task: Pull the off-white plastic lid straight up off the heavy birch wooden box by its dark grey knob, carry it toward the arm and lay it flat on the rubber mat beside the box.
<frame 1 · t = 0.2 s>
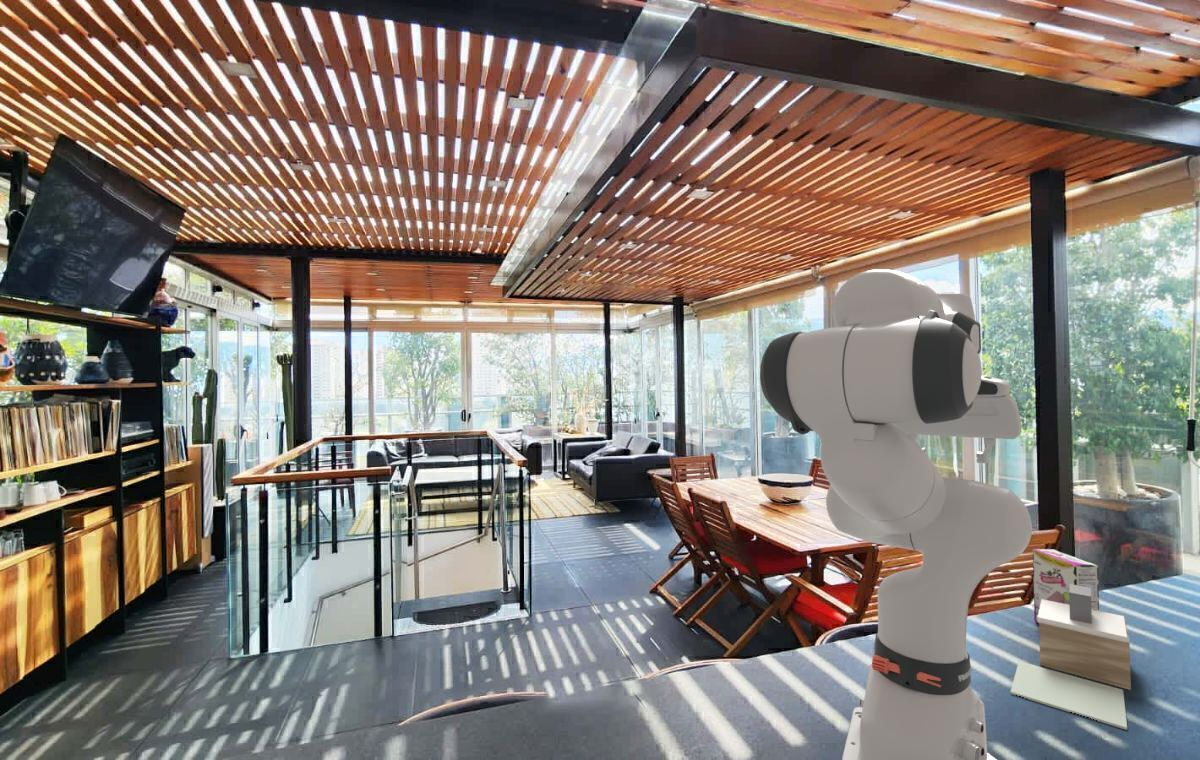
hand: (950, 460, 94), 39 cm above the table, tool pointing down, fingers open, 8 cm apart
candy bar box: (1065, 634, 111), on the table
box: (1083, 665, 98), on the table, touching lid
lid: (1080, 621, 99), point 8 cm above the table, touching box
mat: (1067, 692, 89), on the table
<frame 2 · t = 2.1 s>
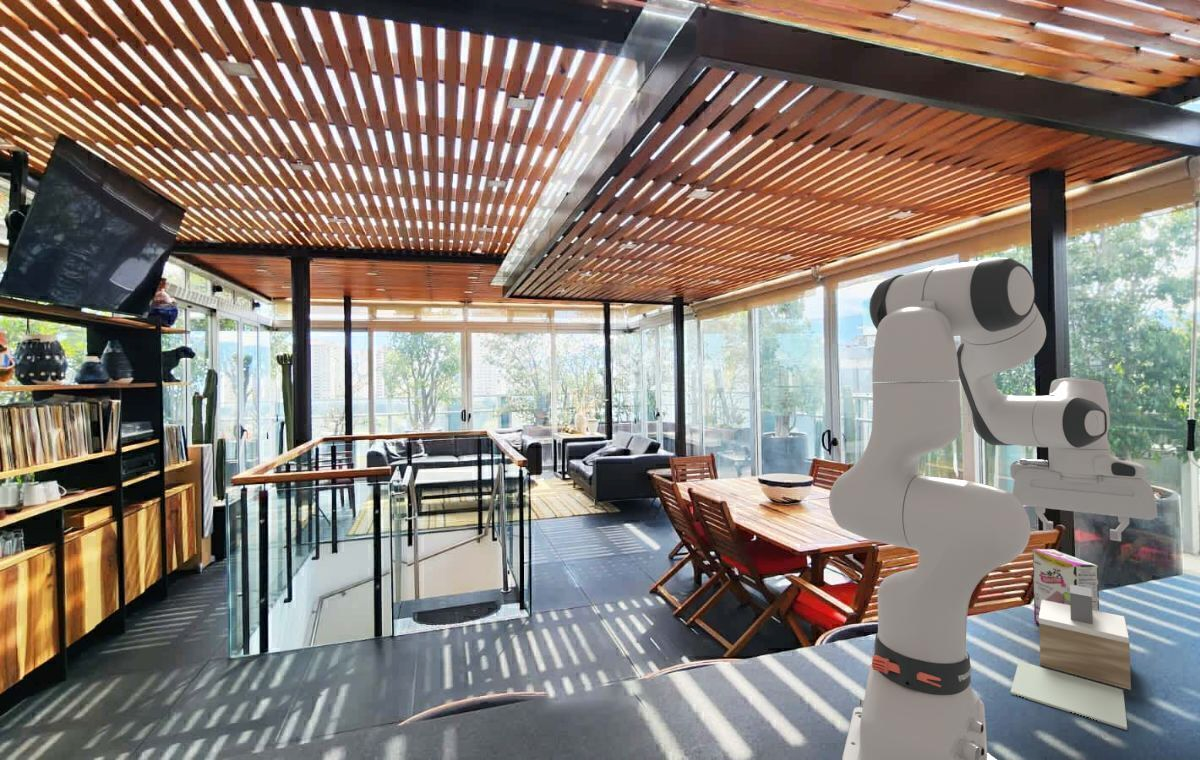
hand: (1080, 535, 99), 24 cm above the table, tool pointing down, fingers open, 8 cm apart
nothing on the table moved.
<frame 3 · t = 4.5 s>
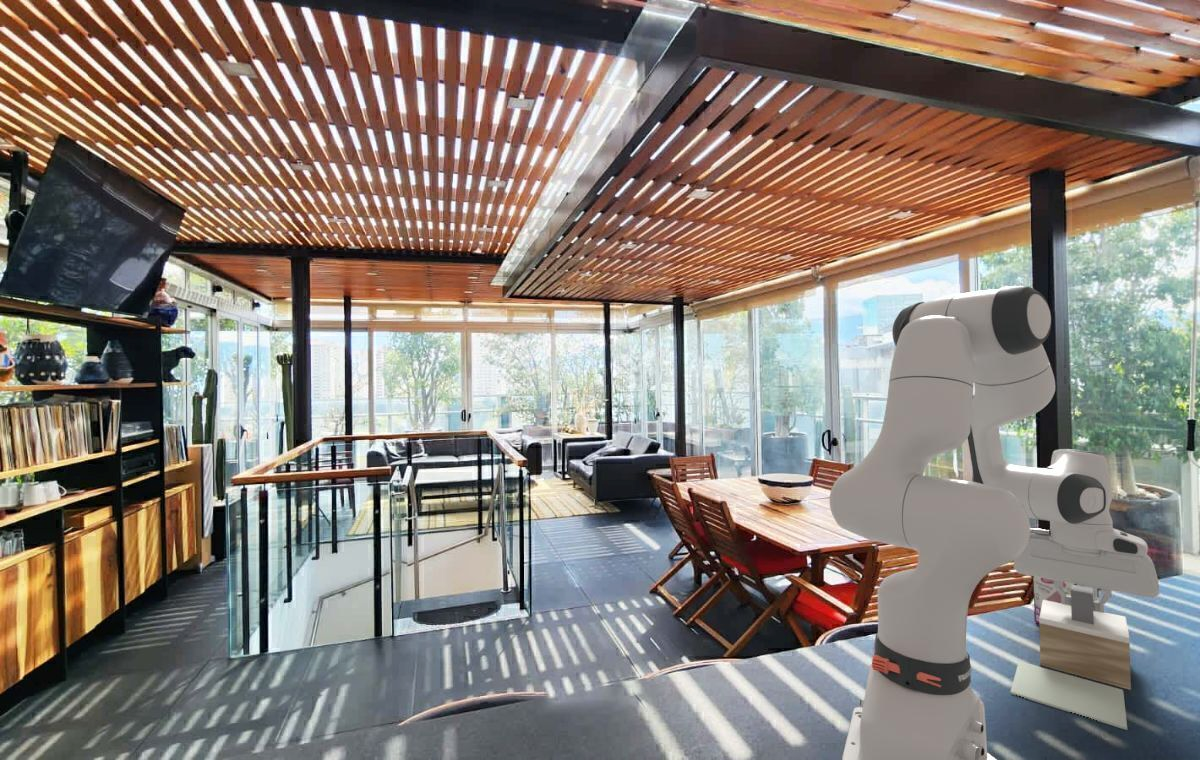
hand: (1082, 607, 99), 11 cm above the table, tool pointing down, fingers closed on lid, 3 cm apart
lid: (1082, 622, 99), point 8 cm above the table, touching box, gripper
everything else where it was.
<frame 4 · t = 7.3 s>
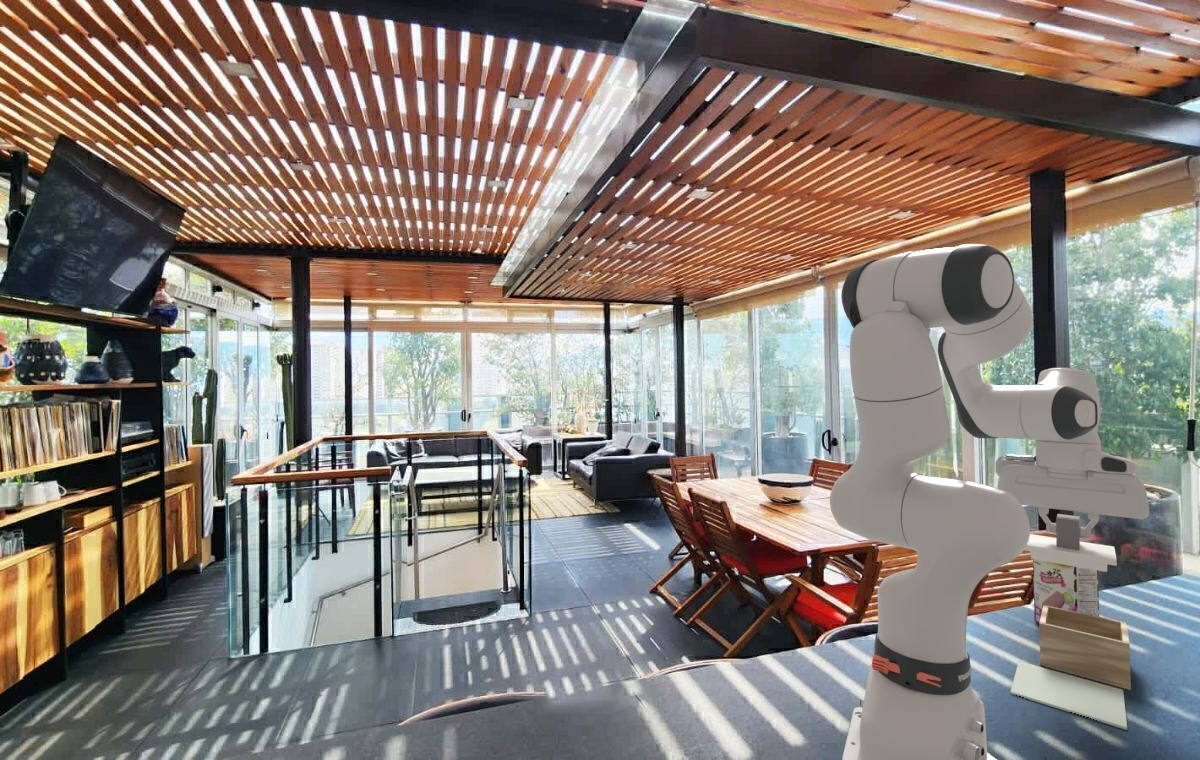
hand: (1068, 535, 93), 26 cm above the table, tool pointing down, fingers closed on lid, 3 cm apart
box: (1083, 665, 98), on the table
lid: (1068, 551, 93), point 23 cm above the table, touching gripper
everything else where it was.
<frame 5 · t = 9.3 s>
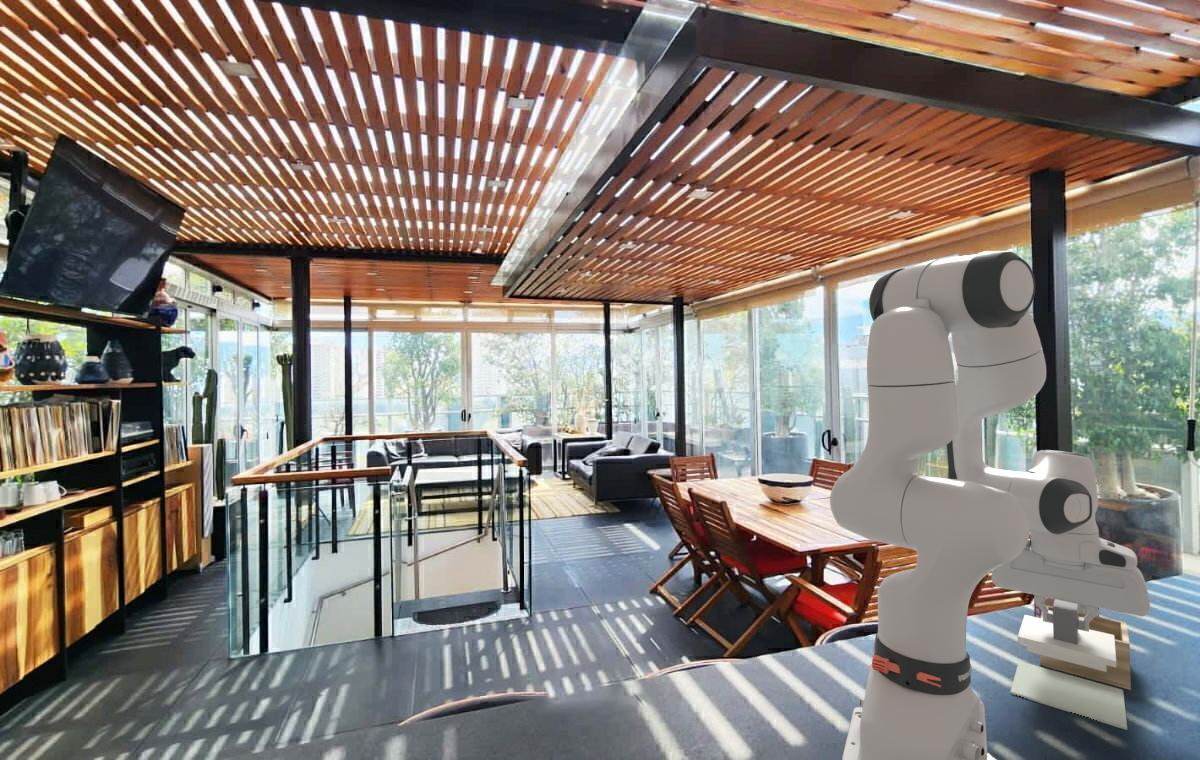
hand: (1065, 625, 89), 11 cm above the table, tool pointing down, fingers closed on lid, 3 cm apart
lid: (1066, 641, 89), point 9 cm above the table, touching gripper
everything else where it was.
when the fingers open (7 cm above the table, at t = 10.6 s): lid drops 2 cm, resting on mat.
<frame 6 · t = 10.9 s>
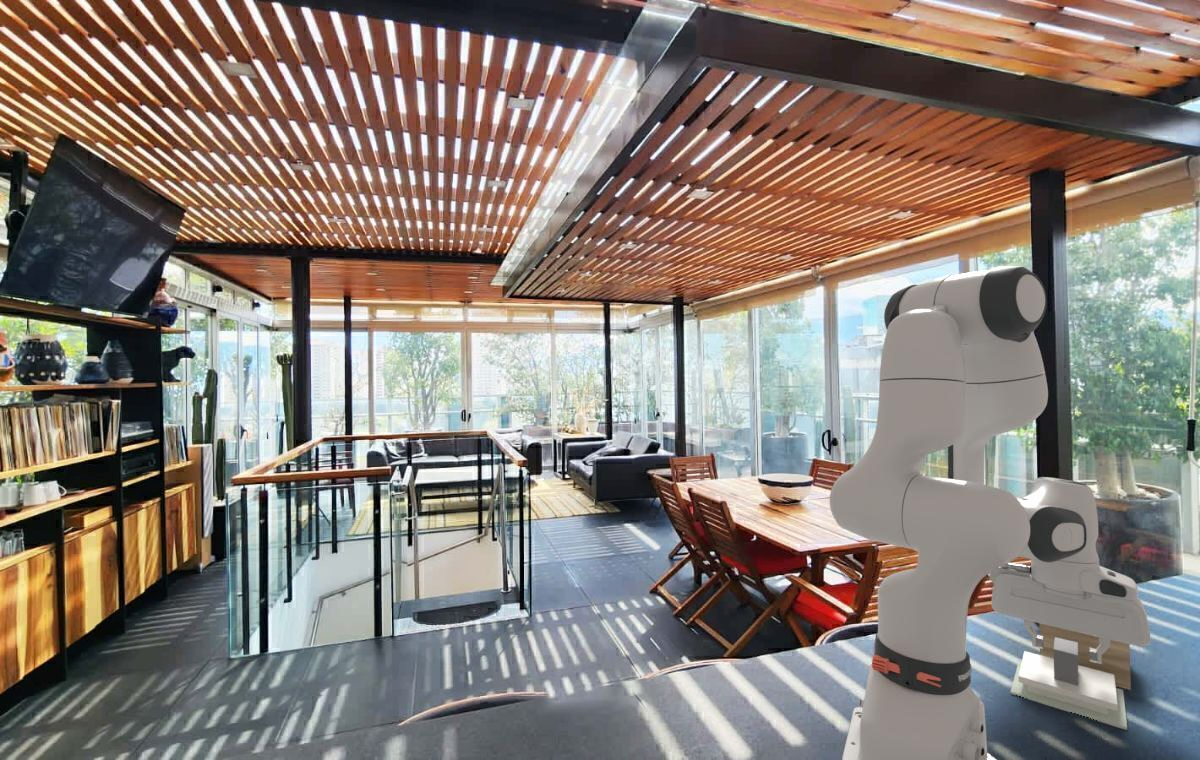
hand: (1065, 653, 89), 7 cm above the table, tool pointing down, fingers open, 6 cm apart
lid: (1066, 681, 89), point 2 cm above the table, touching mat
everything else where it was.
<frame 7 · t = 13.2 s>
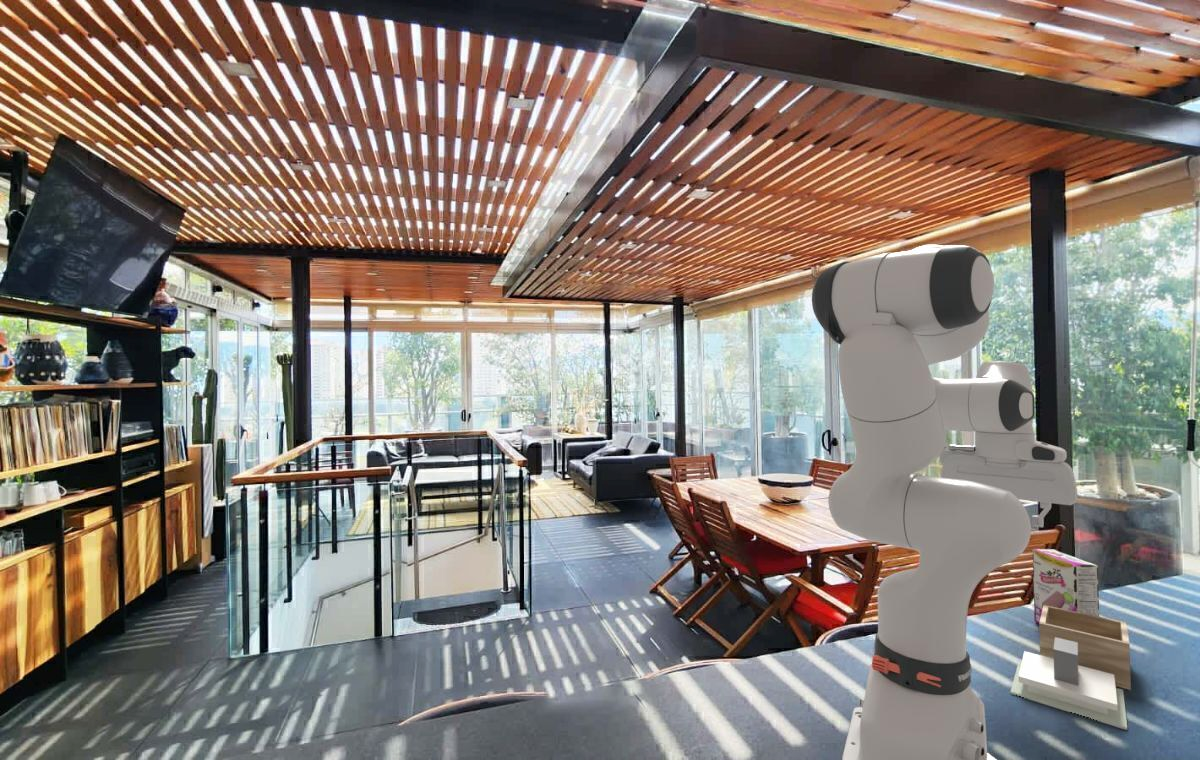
hand: (1005, 521, 98), 27 cm above the table, tool pointing down, fingers open, 8 cm apart
nothing on the table moved.
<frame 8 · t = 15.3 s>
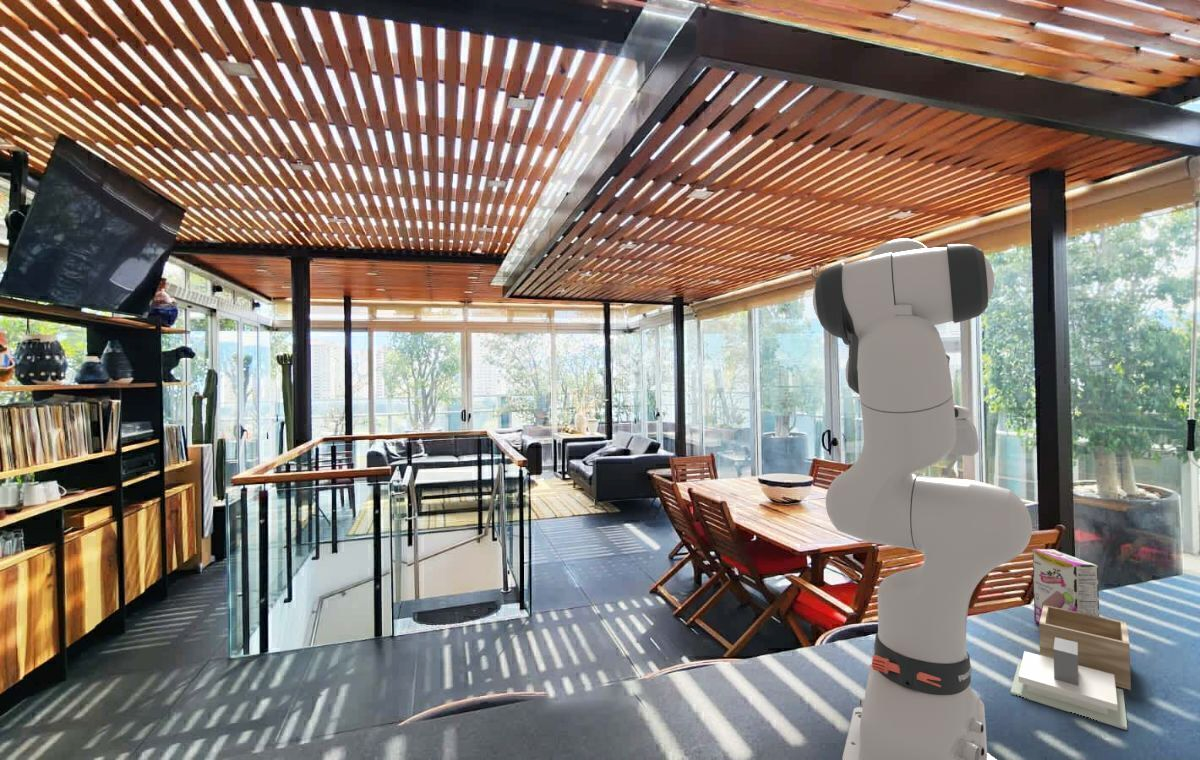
hand: (920, 473, 112), 34 cm above the table, tool pointing down, fingers open, 8 cm apart
nothing on the table moved.
at the end: lid inside the target area on the mat (0.2 cm from its centre), point 1.9 cm above the mat's base; lid tilted 0°; box moved 0.2 cm from its start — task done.
